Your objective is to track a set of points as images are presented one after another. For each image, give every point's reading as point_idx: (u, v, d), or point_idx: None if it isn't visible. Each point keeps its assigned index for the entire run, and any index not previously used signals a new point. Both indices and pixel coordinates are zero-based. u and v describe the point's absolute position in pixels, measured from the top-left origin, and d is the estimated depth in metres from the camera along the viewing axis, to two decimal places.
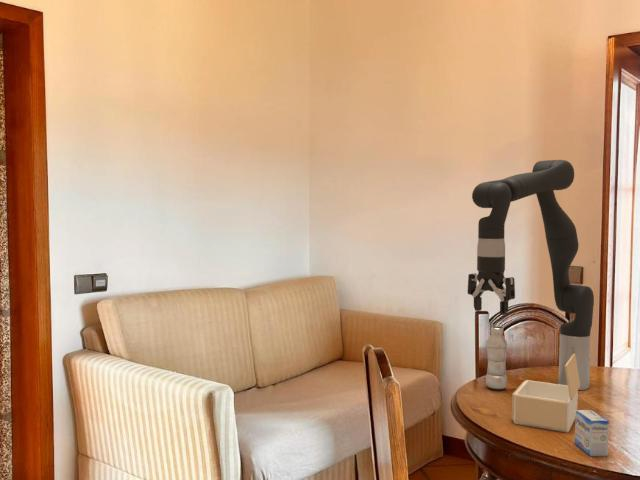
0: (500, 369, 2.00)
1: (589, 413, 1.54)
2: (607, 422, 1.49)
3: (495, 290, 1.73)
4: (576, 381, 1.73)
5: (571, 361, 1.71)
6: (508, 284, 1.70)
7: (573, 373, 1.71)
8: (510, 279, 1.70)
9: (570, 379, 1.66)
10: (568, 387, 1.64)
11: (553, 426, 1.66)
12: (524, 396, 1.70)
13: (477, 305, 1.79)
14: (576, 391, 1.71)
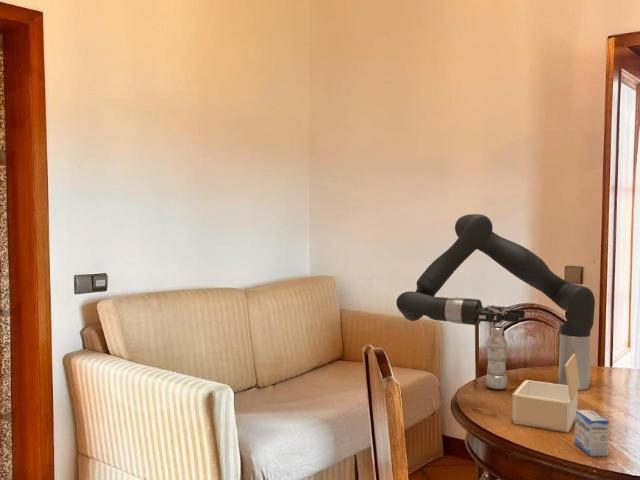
0: (500, 369, 2.00)
1: (589, 413, 1.54)
2: (607, 422, 1.49)
3: None
4: (576, 381, 1.73)
5: (571, 361, 1.71)
6: None
7: (573, 373, 1.71)
8: (480, 318, 1.76)
9: (570, 379, 1.66)
10: (568, 387, 1.64)
11: (553, 426, 1.66)
12: (524, 396, 1.70)
13: (518, 316, 1.80)
14: (576, 391, 1.71)
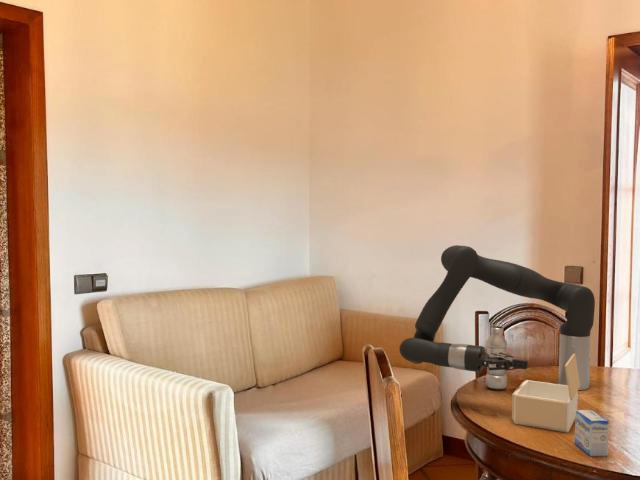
0: None
1: (589, 413, 1.54)
2: (607, 422, 1.49)
3: None
4: (576, 381, 1.73)
5: (571, 361, 1.71)
6: (495, 369, 1.76)
7: (573, 373, 1.71)
8: (491, 367, 1.76)
9: (570, 379, 1.66)
10: (568, 387, 1.64)
11: (553, 426, 1.66)
12: (524, 396, 1.70)
13: None
14: (576, 391, 1.71)
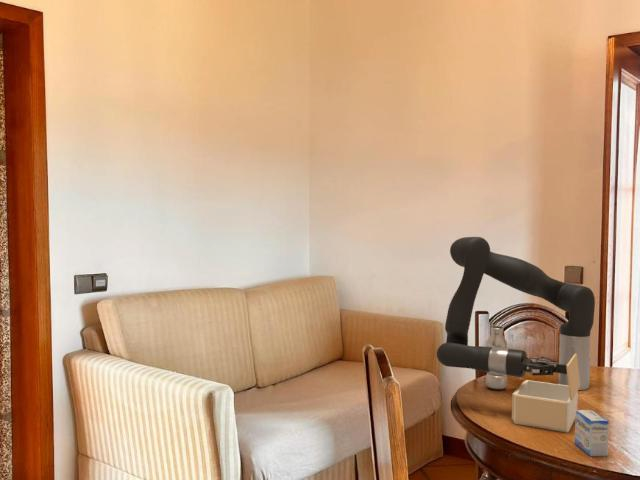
0: None
1: (589, 413, 1.54)
2: (607, 422, 1.49)
3: None
4: (576, 381, 1.73)
5: (572, 361, 1.71)
6: None
7: (574, 373, 1.71)
8: (534, 372, 1.70)
9: (571, 379, 1.66)
10: (569, 387, 1.64)
11: (553, 426, 1.66)
12: (524, 396, 1.70)
13: None
14: (576, 391, 1.71)
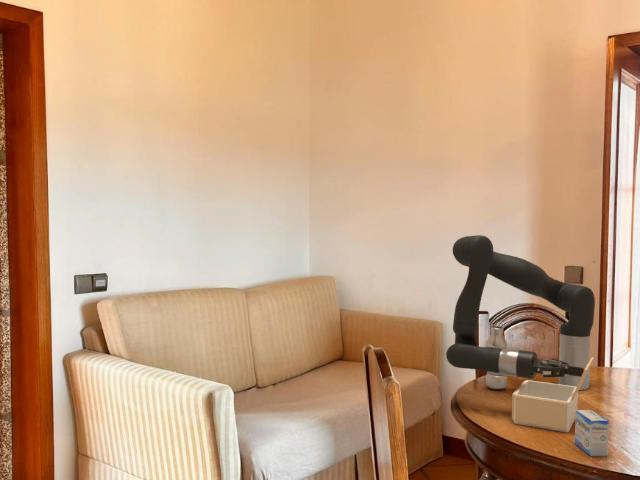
0: None
1: (589, 413, 1.54)
2: (607, 422, 1.49)
3: None
4: None
5: (589, 365, 1.69)
6: (550, 376, 1.69)
7: (584, 376, 1.70)
8: (545, 374, 1.69)
9: None
10: (576, 388, 1.63)
11: (553, 426, 1.66)
12: (524, 396, 1.70)
13: None
14: None
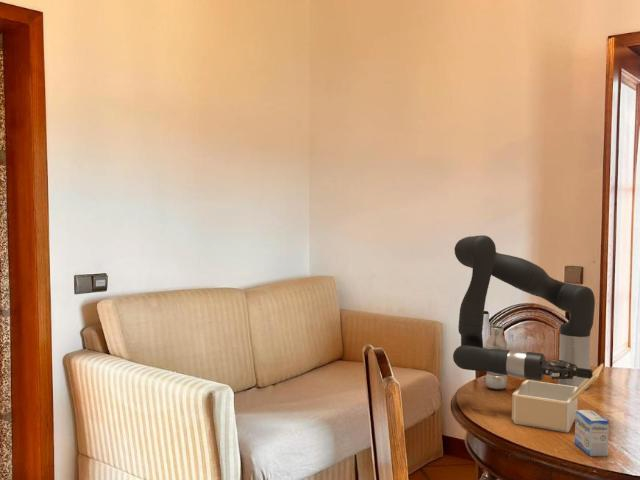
0: None
1: (589, 413, 1.54)
2: (607, 422, 1.49)
3: None
4: None
5: None
6: (558, 378, 1.68)
7: None
8: (554, 376, 1.67)
9: None
10: (580, 391, 1.63)
11: (553, 426, 1.66)
12: (524, 396, 1.70)
13: None
14: (577, 392, 1.71)
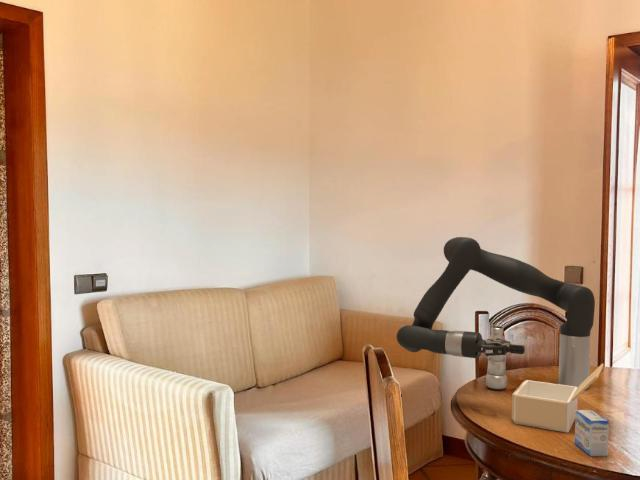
0: (500, 369, 2.00)
1: (589, 413, 1.54)
2: (607, 422, 1.49)
3: None
4: None
5: None
6: None
7: None
8: (488, 353, 1.76)
9: None
10: (580, 391, 1.63)
11: (553, 426, 1.66)
12: (524, 396, 1.70)
13: None
14: (577, 392, 1.71)
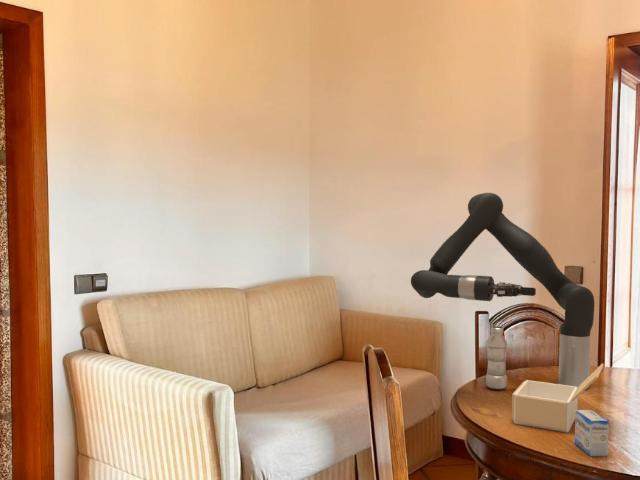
0: (500, 369, 2.00)
1: (589, 413, 1.54)
2: (607, 422, 1.49)
3: (508, 296, 1.86)
4: None
5: None
6: None
7: None
8: (500, 294, 1.82)
9: None
10: (580, 391, 1.63)
11: (553, 426, 1.66)
12: (524, 396, 1.70)
13: None
14: (577, 392, 1.71)
